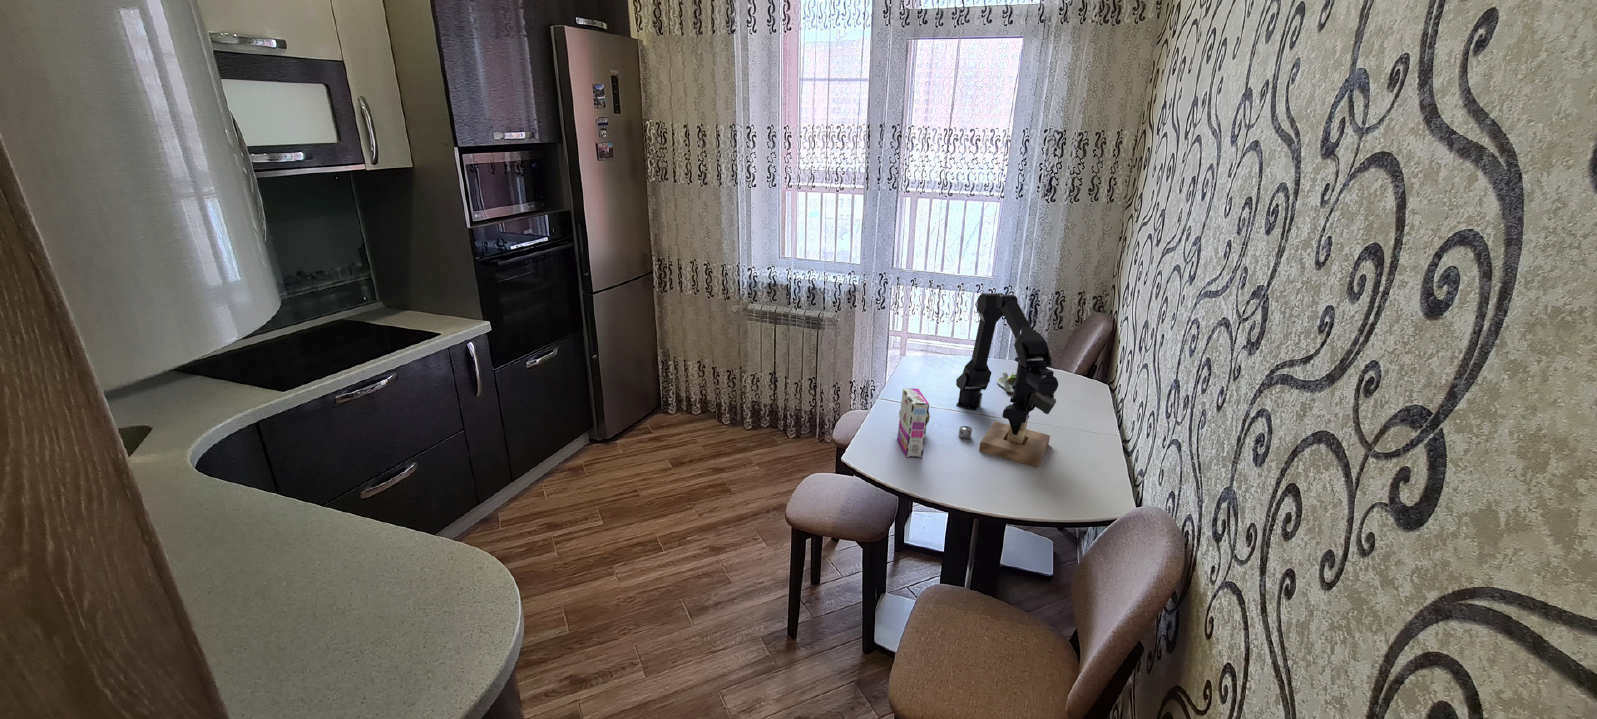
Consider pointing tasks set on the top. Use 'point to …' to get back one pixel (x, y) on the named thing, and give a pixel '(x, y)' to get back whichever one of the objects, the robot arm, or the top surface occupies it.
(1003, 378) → the salad plate
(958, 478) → the top surface
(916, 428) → the candy bar box
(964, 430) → the grey metal cylinder
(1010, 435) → the tan cardboard cuboid
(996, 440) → the hole block
